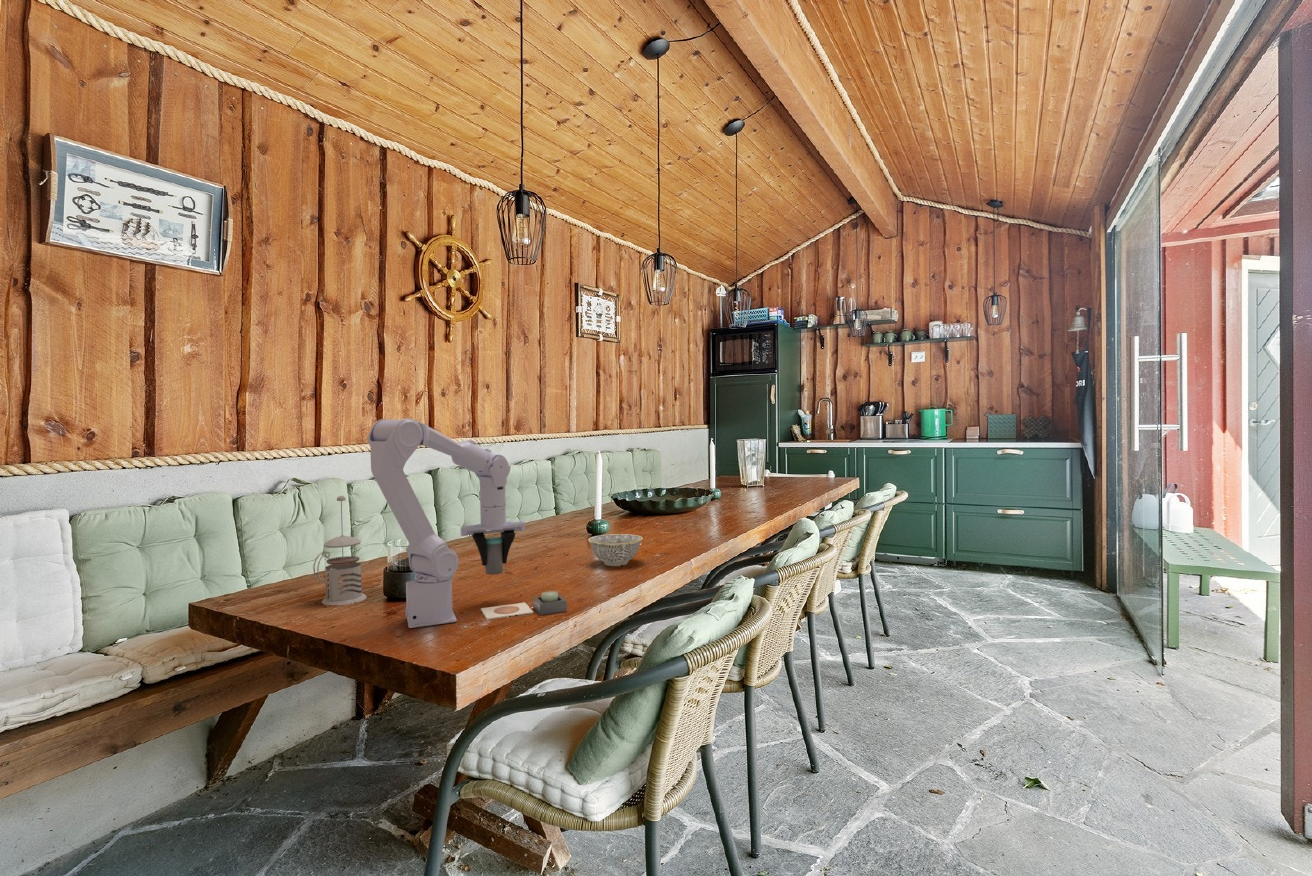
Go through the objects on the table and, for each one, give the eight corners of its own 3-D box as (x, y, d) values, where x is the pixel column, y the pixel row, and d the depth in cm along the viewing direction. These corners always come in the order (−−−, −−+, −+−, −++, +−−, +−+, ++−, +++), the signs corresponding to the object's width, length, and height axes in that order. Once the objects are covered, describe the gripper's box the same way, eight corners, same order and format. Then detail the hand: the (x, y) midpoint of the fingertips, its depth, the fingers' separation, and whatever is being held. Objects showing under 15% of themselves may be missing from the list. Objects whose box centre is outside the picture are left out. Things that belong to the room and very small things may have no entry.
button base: (540, 615, 139) (539, 604, 139) (533, 607, 144) (533, 597, 144) (566, 611, 141) (566, 600, 141) (559, 604, 147) (559, 593, 147)
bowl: (586, 559, 193) (586, 534, 193) (638, 556, 196) (638, 532, 196) (590, 571, 177) (590, 544, 177) (647, 568, 180) (647, 542, 180)
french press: (375, 597, 155) (372, 494, 154) (328, 610, 145) (324, 500, 144) (352, 591, 160) (349, 492, 159) (305, 603, 150) (301, 497, 150)
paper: (486, 619, 136) (486, 618, 136) (480, 609, 143) (480, 608, 143) (533, 613, 140) (533, 611, 140) (525, 603, 148) (525, 602, 148)
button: (543, 605, 140) (543, 596, 140) (539, 601, 144) (539, 592, 144) (559, 603, 142) (559, 594, 142) (555, 599, 145) (555, 590, 145)
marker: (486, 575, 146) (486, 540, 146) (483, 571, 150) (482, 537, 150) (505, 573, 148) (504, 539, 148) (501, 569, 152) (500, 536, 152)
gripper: (520, 501, 155) (521, 557, 156) (458, 505, 149) (459, 563, 150) (526, 505, 149) (528, 563, 149) (462, 509, 143) (463, 570, 143)
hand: (494, 563), depth 149 cm, fingers closed on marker, 4 cm apart
